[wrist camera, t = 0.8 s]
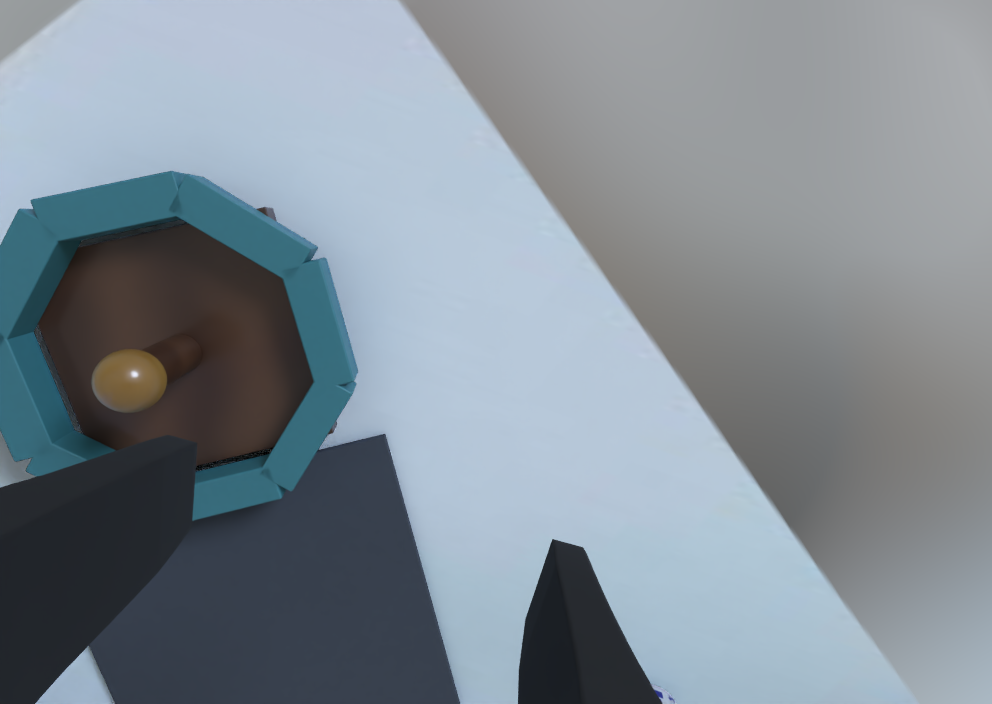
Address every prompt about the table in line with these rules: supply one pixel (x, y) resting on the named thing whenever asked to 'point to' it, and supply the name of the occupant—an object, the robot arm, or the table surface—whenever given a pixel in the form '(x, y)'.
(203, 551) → the mat
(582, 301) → the table surface
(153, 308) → the peg stand
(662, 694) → the energy drink
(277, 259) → the ring
